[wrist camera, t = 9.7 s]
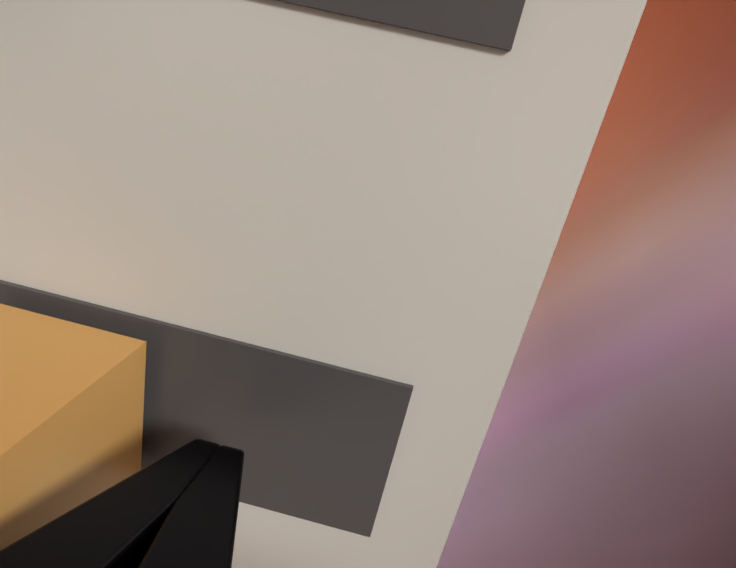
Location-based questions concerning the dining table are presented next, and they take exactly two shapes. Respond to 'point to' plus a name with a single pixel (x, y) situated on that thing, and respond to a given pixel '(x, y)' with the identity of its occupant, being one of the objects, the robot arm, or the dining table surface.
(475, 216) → the breaker panel
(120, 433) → the handle
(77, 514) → the robot arm
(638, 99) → the dining table surface
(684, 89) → the dining table surface
